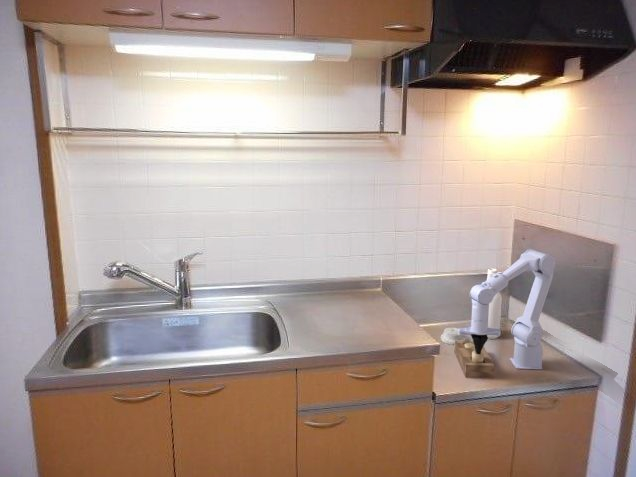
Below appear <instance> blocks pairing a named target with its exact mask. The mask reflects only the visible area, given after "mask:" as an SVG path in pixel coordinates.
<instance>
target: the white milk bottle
mask: <svg viewBox="0 0 636 477" xmlns="http://www.w3.org/2000/svg"><path fill="white" fill-rule="evenodd" d="M496 273H498V269H497V268H493V267H492V268H488V269H487V275H486V276H487V277H486V280H488V279H489V278H490V277H492V275H493V274H496ZM502 303H503V298H502V294H501V293H500V292H498V293H497V294H496V295H495V296H494V298H493V300H492V302H491V303H489V316H488V328H494V329H501V315H502ZM487 337H488V340H496V339H498V338H499V337H500V336H497V335H487Z"/></svg>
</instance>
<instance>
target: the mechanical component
mask: <svg viewBox="0 0 636 477" xmlns="http://www.w3.org/2000/svg"><path fill="white" fill-rule="evenodd" d="M440 340H441V341H442V342H443V343H445V344H449V345H455V341H466V337H465V336H464V335H459V334H458V327H446V328H444V330H443V333H442V334H441V335H440Z"/></svg>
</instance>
